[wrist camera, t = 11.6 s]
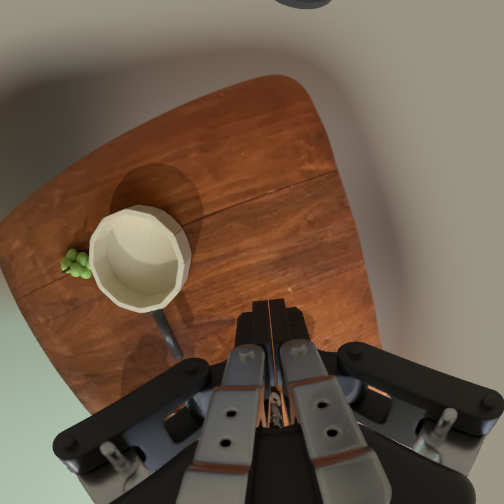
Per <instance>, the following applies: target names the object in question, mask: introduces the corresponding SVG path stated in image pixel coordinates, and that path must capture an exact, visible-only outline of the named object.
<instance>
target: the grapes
mask: <svg viewBox="0 0 504 504" xmlns="http://www.w3.org/2000/svg"><path fill="white" fill-rule="evenodd" d="M76 261H77V262H76ZM61 268H62V270H63V271H62V272H61V274H62V275H63V274H65V273H71V275H73V276H75V277H78V276H80V275H81V277H82V278H84V279H88V278H90V277H91V275H92V271H91V268H90V266H89V256H88V255H87V254H86V253H85V252H81V253H78V251H77V250H75V249H70V250H69V251H68V252H67V255H66V257H64V258H63V259H62V260H61Z"/></svg>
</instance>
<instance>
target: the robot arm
mask: <svg viewBox="0 0 504 504" xmlns="http://www.w3.org/2000/svg"><path fill="white" fill-rule="evenodd" d="M269 306H270V316H271V326H272V336H273V346H274V357H275V367H276V378H277V386H279V385H282V389H283V400H284V405H285V409H286V414H287V418H288V423H289V426H286V427H283V428H269V419H270V395H271V386H276V385H275V373H274V361H273V350H272V339H271V329H270V319H269V309H268V300H264V301H254V302H253V303H252V312H244V313H242V314H241V315H240V316H239V317H238V319H237V328H236V338H235V347H234V349H232V350H231V351H230V353H229V355H228V359H227V360H225V361H224V362H221V363H218V364H214V365H210V366H209V364H208V362H207V361H205V360H204V359H201V358H188V359H185V360H182V361H181V362H179V363H177V364H176V365H174V366H173V367H171V368H170V369H168V370H166V371H165V372H163V373H162V374H160V375H159V376H157V377H155V378H154V379H152V380H151V381H149V382H147V383H146V384H144V385H143V386H141V387H139V388H138V389H136V390H134V391H133V392H131V393H129V394H128V395H126V396H124V397H123V398H121V399H119V400H118V401H116V402H114V403H113V404H111V405H109V406H107V407H106V408H104V409H102V410H101V411H99V412H97V413H95V414H93V415H92V416H90V417H88V418H87V419H85V420H83V421H81V422H79V423H77V424H76V425H74V426H72V427H70V428H68V429H66V430H64V431H63V432H61V433H60V434H58V435H57V436H56V438H55V439H54V441H53V451H54V454H55V455H56V456H57V457H58V458H59V459H60V460H61V461H62V462H63V463H64V464H65V465H66V466H67V468H68V469H69V470H70V471H71V472H72V473H73V474H74V475H75V476H76V477H77V478H78V479H79V480H80V482H81V484H82V485H83V487H84V488H85V490H86V491H87V493H88V494H89V496H90V497H91V499H92V500H93V502H94V503H95V504H475V503H476V495H475V490H474V487H473V485H472V483H471V482H470V480H469V479H468V478H467V476H468V474H469V472H470V470H471V468H472V466H473V463H474V461H475V459H476V457H477V455H478V453H479V450H480V448H481V445H482V443H483V440H484V439H485V438H486V436H487V435H488V434H489V432H490V431H491V429H492V428H493V427H494V425H495V424H496V422H497V421H498V419H499V418H500V416H501V414H502V413H503V411H504V399H503V397H502V396H501V395H500V394H499V393H498V392H497V391H495V390H492V389H489V388H486V387H483V386H480V385H476V384H473V383H471V382H468V381H465V380H462V379H459V378H456V377H453V376H450V375H447V374H445V373H442V372H439V371H436V370H434V369H431V368H428V367H426V366H423V365H420V364H417V363H415V362H412V361H409V360H407V359H404V358H401V357H399V356H396V355H394V354H391V353H389V352H386V351H384V350H381V349H378V348H376V347H373V346H371V345H368V344H366V343H363V342H349V343H346V344H344V345H342V346H341V347H340V348H339V349H338V352H325V351H321V350H319V349H317V348H316V346H315V344H314V343H313V342H311V340H310V337H309V334H308V330H307V327H306V324H305V321H304V317H303V314H302V312H301V311H300V310H299V309H298V308H296V307H291V308H286V306H285V302H284V298H282V299H273V300H269ZM368 385H370V386H372V387H374V388H376V389H378V390H381V391H383V392H385V393H387V394H388V395H390V397H391V398H392V399H390V398H388V397H386V396H384V395H381V394H379V393H377V392H375V391H373V390H371V389H369V388H368ZM184 402H185V404H186V406H185V407H184V408H182V409H181V410H180V411H178V412H177V413H175V414H174V415H173V416H171V417H170V418H168V419H167V420H165V421H164V419H165V417H166V416H167V415H168V414H169V413H170V412H172V411H173V410H175V409H176V408H178V407H179V406H180V405H182V404H183V403H184ZM357 421H358V422H360V423H362V424H364V425H366V426H364V425H361V424H358V423H357ZM382 434H383V435H382ZM384 435H385V436H384ZM386 436H387V437H386ZM388 437H389V438H388ZM198 438H199V440H197V439H198ZM390 438H391V439H390ZM392 439H393V440H395V441H397V442H399V443H401V444H403V445H406V446H408V447H410V448H412V449H413V450H411V449H409V448H407V447H405V446H403V445H401V444H399V443H397V442H395V441H393V440H392ZM196 440H197V441H196ZM161 466H162V467H161ZM158 468H159V469H158ZM157 469H158V470H157ZM154 471H155V472H154ZM153 472H154V473H153ZM151 473H152V474H151ZM150 474H151V475H150Z"/></svg>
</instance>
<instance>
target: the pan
mask: <svg viewBox="0 0 504 504" xmlns="http://www.w3.org/2000/svg"><path fill="white" fill-rule="evenodd" d="M191 256H192V254H191V250H190V246H189V242H188V239H187V237H186V234H185V233H184V230H183V229H182V227H181V226H180V225H179V224H178V222H177V221H176V220H175V219H174V218H173V217H171V216H170V215H169V214H167V213H166V212H165V211H164V210H163V211H162V209H158V208H155V207H151V206H144V205H135V206H132V207H129V208H126V209H123V210H121V211H119V212H116V213H114V214H111V215H109V216H107V217H104V218H103V219H102V221H101V222H100V224H99V225H98V227H97V228H96V230H95V232H94V233H93V235H92V236H91V239H90V249H89V266H90V268H91V271H92V273H93V275H94V278H95V280H96V282H97V285H98V287H99V288H100V290H101V291H102V292H103V293H105V294H106V295H107V296H108V297H109V298H110V299H111V300H112V301H113V302H114V303H115V304H116V305H118V304H119V305H118V306H120V307H123V308H126V309H129V310H133V311H136V312H139V313H141V312H142V313H144V312H149V311H151V312H152V314H153V316H154V319H155V321H156V323H157V325H158V327H159V329H160V331H161V333H162V335H163V337H164V339H165V341H166V343H167V345H168V347H169V349H170V351H171V353H172V355H173V357H174V358H175V359H177V360H180V359H182V358H183V352H182V350H181V348H180V346H179V344H178V342H177V340H176V338H175V336H174V334H173V331H172V329H171V327H170V325H169V323H168V321H167V319H166V317H165V314H164V312H163V310H162V308H164V307H166V306H167V304H168V303H169V302H170V301H171V300H172V299H173V298H174V297H175V296H176V295H177V294H178V293H179V291H180V290H181V288H182V287H183V285H184V283H185V281H186V280H187V278H188V273H189V268H190V263H191Z"/></svg>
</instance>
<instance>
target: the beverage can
mask: <svg viewBox="0 0 504 504" xmlns="http://www.w3.org/2000/svg"><path fill="white" fill-rule="evenodd" d="M283 427H284V423H283V413H282V404H281V395H280V393H279V391H278V390H277V389H275V388H273V387H271V395H270V419H269V428H283Z"/></svg>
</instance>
